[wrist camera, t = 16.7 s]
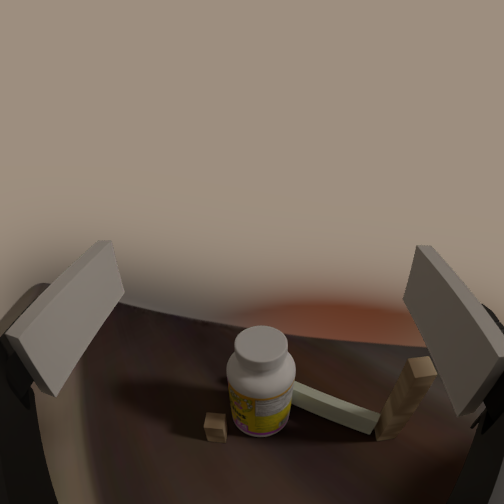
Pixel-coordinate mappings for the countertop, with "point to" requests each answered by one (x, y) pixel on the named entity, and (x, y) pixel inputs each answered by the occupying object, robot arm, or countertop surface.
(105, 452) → the countertop surface
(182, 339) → the countertop surface
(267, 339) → the supplement bottle
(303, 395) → the bar
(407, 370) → the wooden post frame
